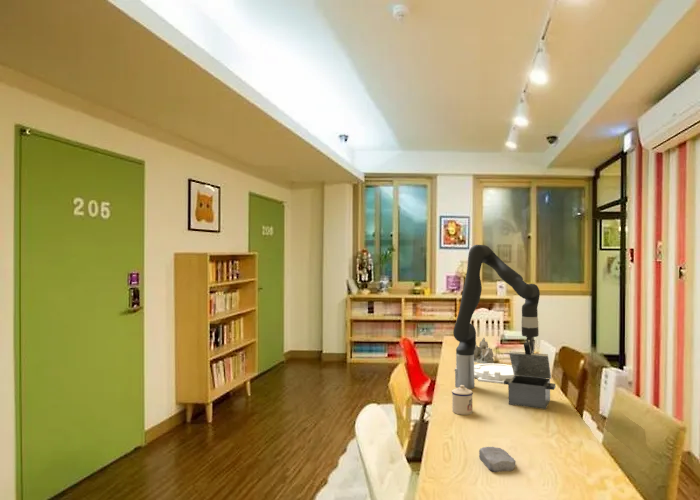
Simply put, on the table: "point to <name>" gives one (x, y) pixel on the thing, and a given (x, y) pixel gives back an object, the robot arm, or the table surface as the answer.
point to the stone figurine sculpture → (483, 353)
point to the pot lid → (530, 363)
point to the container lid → (493, 372)
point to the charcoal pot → (529, 391)
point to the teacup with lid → (462, 400)
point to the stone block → (496, 459)
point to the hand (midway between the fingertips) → (530, 362)
